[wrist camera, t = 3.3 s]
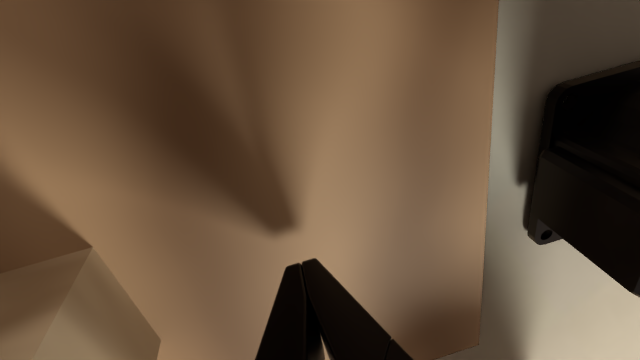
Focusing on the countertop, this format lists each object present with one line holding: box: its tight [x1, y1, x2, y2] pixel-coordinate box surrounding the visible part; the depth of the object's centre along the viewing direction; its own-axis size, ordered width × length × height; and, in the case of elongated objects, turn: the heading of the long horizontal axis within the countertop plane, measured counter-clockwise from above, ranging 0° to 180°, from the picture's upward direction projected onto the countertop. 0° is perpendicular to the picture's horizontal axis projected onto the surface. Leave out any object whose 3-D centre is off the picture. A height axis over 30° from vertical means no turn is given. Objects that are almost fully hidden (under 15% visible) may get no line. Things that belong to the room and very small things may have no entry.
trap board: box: [0, 0, 499, 360], centre depth 10 cm, size 25×16×4 cm, turn 101°
